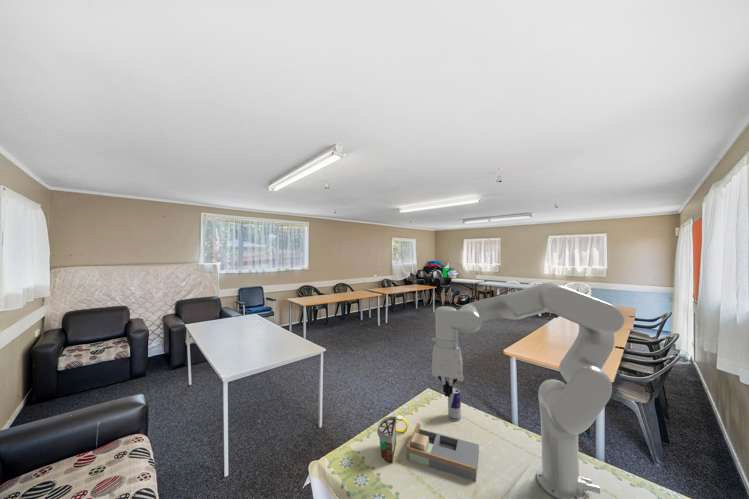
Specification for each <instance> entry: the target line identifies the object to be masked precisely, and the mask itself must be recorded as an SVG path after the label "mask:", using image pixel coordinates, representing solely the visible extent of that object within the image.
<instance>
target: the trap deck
mask: <svg viewBox="0 0 749 499" xmlns="http://www.w3.org/2000/svg"><path fill="white" fill-rule="evenodd" d="M415 433H419V434H422V435H425V436H428V437H429V446H428V448H427V450H426V452H425V451H422V450H418V449H415V448H412V447H411V440H412V438H413V437H414V435H415ZM479 446H480V444H478V443H475V442H470V441H467V440H463V439H460V438H455V437H452V436H449V435H445V434H442V433H441V434H440V433H437V432H434V431H430V430H426V429H422V428H421V424H420V423H418V422H417V423H416V426H415V427H414V430H413V432H412V434H411V437H410V439H409V441H408V443H407V445H406V460H409V461H412V462H415V463H418V464H421V465H424V466H426V467H430V468H433V469H436V470H439V471H442V472H444V473H445V472H446V473H449V474H452V475H455V476H458V477H460V478H461V477H462V478H464V479H467V480H471V481H474V482H477V474H478V463H479V453H480V447H479Z"/></svg>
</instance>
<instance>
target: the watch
mask: <svg viewBox="0 0 749 499" xmlns="http://www.w3.org/2000/svg"><path fill="white" fill-rule="evenodd" d="M395 417H396V421H399V422H400V421H403V422H404V424H405V429H398V428H397V427H396V433H401V434H402V433H405V432H407V430H408V427H409V425H408V423H409V422H408V421H407V419H406V418H404V416H403V414H402V415H401V414H398V415H397V416H395Z"/></svg>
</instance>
